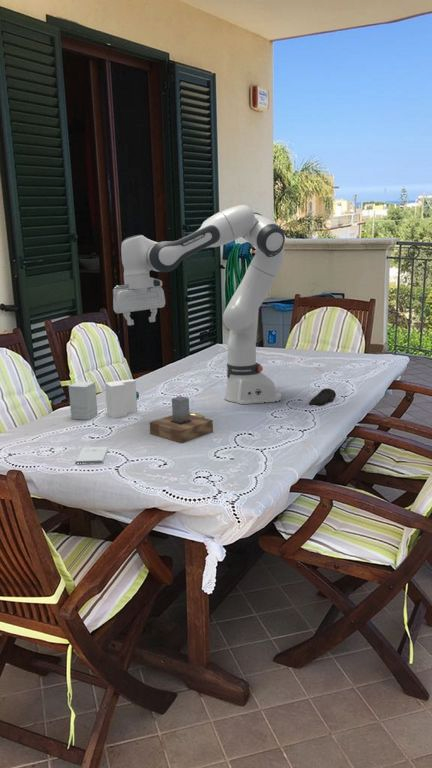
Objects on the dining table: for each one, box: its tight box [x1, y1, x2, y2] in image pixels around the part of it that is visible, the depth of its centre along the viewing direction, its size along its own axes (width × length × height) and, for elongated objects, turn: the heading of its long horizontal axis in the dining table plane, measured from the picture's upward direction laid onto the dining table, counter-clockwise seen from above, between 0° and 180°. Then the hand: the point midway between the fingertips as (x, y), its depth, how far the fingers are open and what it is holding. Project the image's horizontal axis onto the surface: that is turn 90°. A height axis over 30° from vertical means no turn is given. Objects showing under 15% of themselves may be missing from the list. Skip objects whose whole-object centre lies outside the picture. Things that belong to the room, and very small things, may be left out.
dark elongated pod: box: [308, 388, 337, 407], centre depth 258 cm, size 22×7×3 cm, turn 155°
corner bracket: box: [104, 378, 138, 419], centre depth 246 cm, size 11×11×12 cm
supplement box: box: [68, 381, 99, 421], centre depth 241 cm, size 7×7×13 cm
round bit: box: [189, 411, 206, 418], centre depth 231 cm, size 10×4×4 cm
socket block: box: [149, 414, 214, 444], centre depth 221 cm, size 15×15×4 cm
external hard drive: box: [74, 446, 109, 465], centre depth 201 cm, size 2×8×12 cm
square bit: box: [171, 395, 190, 425], centre depth 220 cm, size 4×4×12 cm
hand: (141, 323), depth 229 cm, fingers open, 8 cm apart
